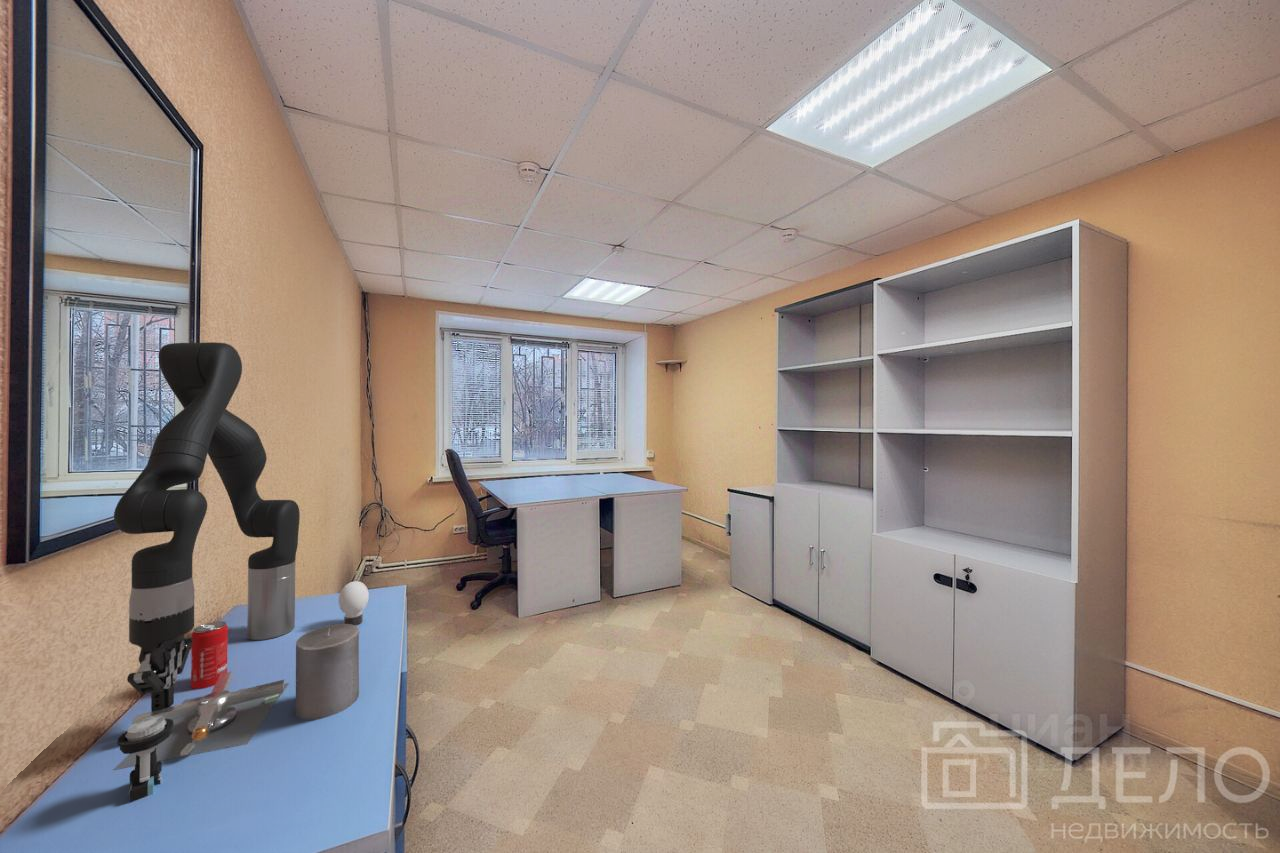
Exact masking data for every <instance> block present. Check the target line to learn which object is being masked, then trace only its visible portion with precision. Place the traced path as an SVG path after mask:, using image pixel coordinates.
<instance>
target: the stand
mask: <svg viewBox="0 0 1280 853" xmlns="http://www.w3.org/2000/svg"><path fill="white" fill-rule="evenodd" d="M289 684H290V682H288V683H287V682H286V683H284V691H283V692H282V693H278V694H275V695H271V696H267V697H263V698H259V699H255V700H251V701H247V702H243V703H239V704H235V705H231V706H230V707H234V708H235V709H236V718H235V720H234V721H233V722H232V723H230V724H229V725H227V726H226V727H224V728H222V729H220V730H217V731H215V732H212V733H209V734H208V736H207V738H205V739H203V740H201V741H198V742H193V740H192V738H191V736H192V735H190V734H188V724H189V722H190V721H191V720H192V719H194V718H195V717H197V716H198V714H196V715H192V716H188V717H184V718H180V719H176V720H173V727H172V729H171V734H170V736H169V737H168V738H167V739H166V740H164V741H163V742H162V743H161V744H159V745H158V746H156V747H155V748H156V755H157V762H158V761H161V762H163V761H167V760H172V759H177V758H178V759H179V758H183V757H188V756H194V755H199V754H203V753H209V752H214V751H218V750H219V751H220V750H224V749H225V750H226V749H229V748H234V747H239V746H243V745H244V746H245V745H248V744H249V742H250V741H251V739H252V738H253V737H254V735H255V734H256V732H257V731H258V729H259V728H260V727H261V725H262V723H263V722H264V721H265V719H266V718H267V717H268V715H269V714H270V712H271V710H272V709H273V707H275V705H276V703H277V702H278V701H279V699H280V697H281V696H282V694H283V693H284V692H285V691H286V689H287V687H288V686H289ZM202 697H203V696H201V697H200V696H199V697H194V698H188V699H184V700H183V701H181V703H180V704H184V703H189V702H193V701H197V700H200V699H201V698H202ZM136 755H137V754H127V755H126V757H125V758H124V759H123V760H122V761H120V762H119V764H118V765H116V766H115V767H114V768H113V771H116V770H120V769H121V770H122V769H127V768H132V767H135V765H136Z"/></svg>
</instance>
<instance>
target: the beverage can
mask: <svg viewBox="0 0 1280 853" xmlns="http://www.w3.org/2000/svg"><path fill="white" fill-rule="evenodd" d="M192 630H193V632H192V633H191V636H190V638H193V642H192V645H191V648H190V651H191V654H190V659H191V661H190V664H191V665H190V668H191V669H190V688H192V689H195V690H201V689H202V690H203V689H206V688H210V687H214V686H215V684H216V682H217V680H218V678H219V676H220V674H223V673H227V672H228V646H229V645H228V643H229V642H228V641H229V640H228V637H229V636H228V634H229V632H228V631H229V627H228V625H227V622H226V621H222V620H221V621H219V620H217V621H213V622H208V623H204V624H200V625H198V626H196V627H194V628H193V629H192Z"/></svg>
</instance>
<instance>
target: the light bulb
mask: <svg viewBox="0 0 1280 853" xmlns="http://www.w3.org/2000/svg"><path fill="white" fill-rule="evenodd" d="M369 598H370V594H369V589H368V587H367V586H366V584H365V583H363V582H361V581H360V580H359V581H357V580H355V581H354V580H353V581H351V582H349V583H347V584H346V585H345V586H344V587H343V588H342V589H341V591H340V593H339V597H338V607H339V609H340V610H341V612H342V613H343V614H344V617H343V624H351V625H355V626H357V625H360V624H362V623H363V615H364V614H363V613H364V612H363V611H364V610H365V608H366V607H367V605H368V602H369Z"/></svg>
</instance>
